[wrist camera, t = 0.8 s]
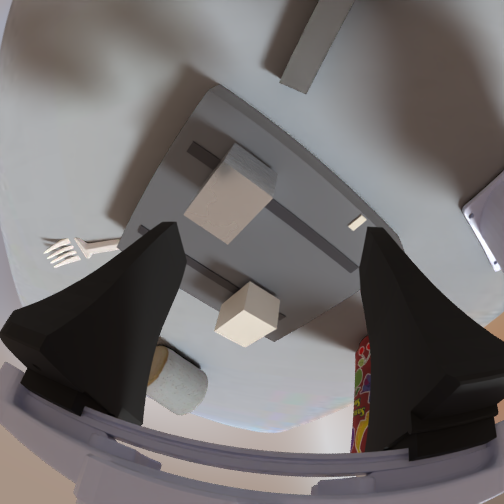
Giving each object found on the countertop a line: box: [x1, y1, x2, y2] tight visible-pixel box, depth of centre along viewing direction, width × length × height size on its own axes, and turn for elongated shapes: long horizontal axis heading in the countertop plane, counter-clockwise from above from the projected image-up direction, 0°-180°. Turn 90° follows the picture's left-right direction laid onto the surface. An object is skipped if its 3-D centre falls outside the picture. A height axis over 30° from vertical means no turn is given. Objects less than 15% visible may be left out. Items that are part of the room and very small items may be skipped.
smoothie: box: [350, 336, 371, 477], centre depth 22 cm, size 8×8×20 cm
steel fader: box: [184, 143, 277, 245], centre depth 16 cm, size 3×4×3 cm
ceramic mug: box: [146, 346, 208, 415], centre depth 37 cm, size 11×8×8 cm
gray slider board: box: [117, 84, 404, 342], centre depth 22 cm, size 17×15×3 cm
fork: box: [44, 238, 120, 268], centre depth 26 cm, size 3×20×2 cm, turn 103°
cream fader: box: [214, 281, 280, 347], centre depth 23 cm, size 3×4×3 cm
